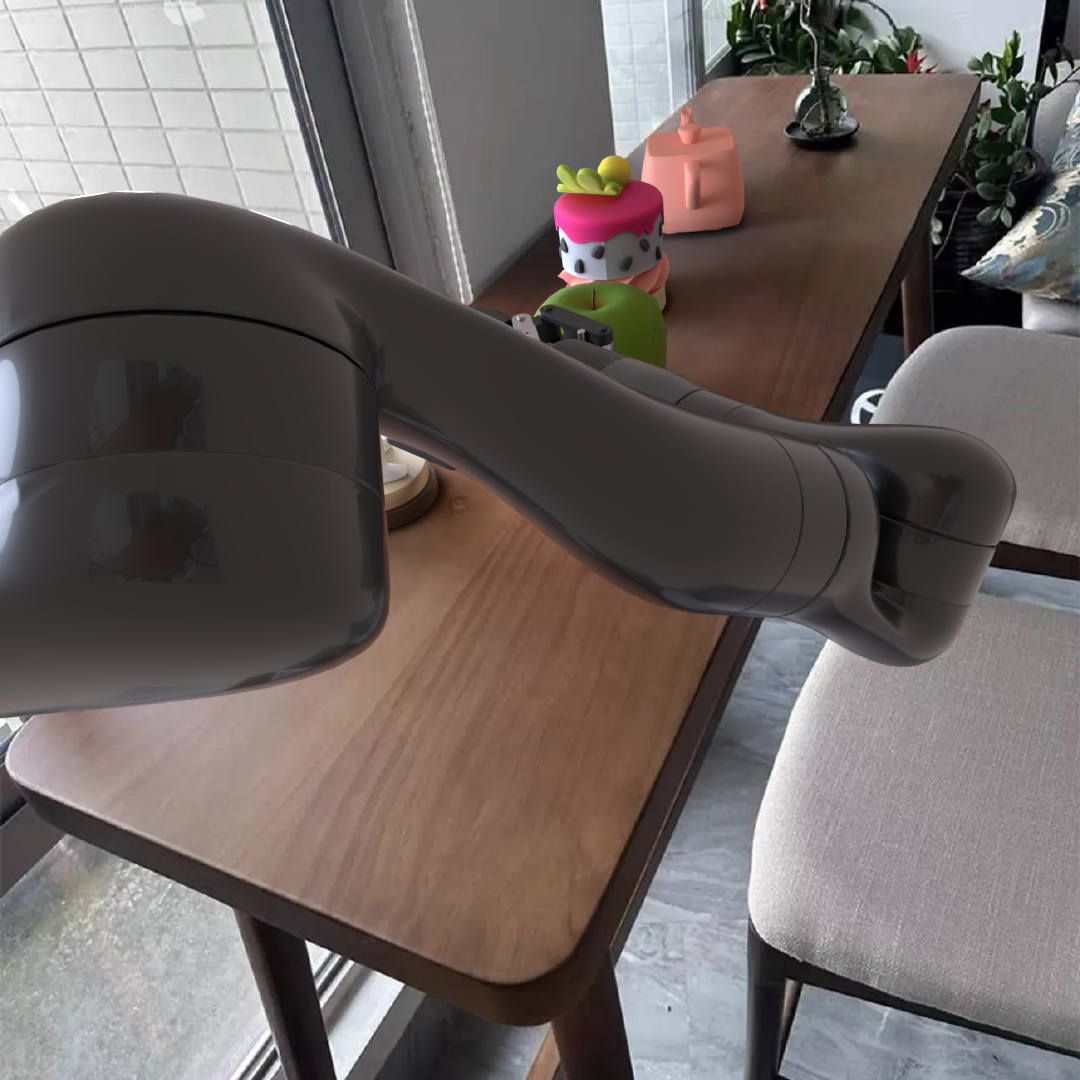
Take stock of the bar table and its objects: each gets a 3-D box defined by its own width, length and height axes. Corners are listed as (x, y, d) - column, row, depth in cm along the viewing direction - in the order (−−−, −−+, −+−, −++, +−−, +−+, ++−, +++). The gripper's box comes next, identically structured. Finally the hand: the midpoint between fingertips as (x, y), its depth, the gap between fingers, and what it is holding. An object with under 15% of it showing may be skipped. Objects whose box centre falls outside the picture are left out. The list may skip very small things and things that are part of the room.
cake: (591, 276, 107) (576, 132, 97) (685, 286, 102) (679, 136, 93) (546, 323, 100) (526, 172, 90) (645, 336, 95) (634, 178, 86)
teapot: (642, 254, 109) (636, 158, 103) (642, 192, 123) (636, 103, 117) (749, 245, 108) (750, 146, 101) (737, 183, 122) (737, 92, 115)
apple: (680, 374, 89) (675, 258, 82) (653, 443, 81) (645, 322, 75) (560, 368, 93) (546, 256, 86) (524, 434, 85) (505, 317, 78)
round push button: (394, 544, 75) (385, 513, 74) (301, 518, 80) (290, 488, 78) (460, 475, 81) (453, 445, 79) (369, 454, 85) (361, 424, 84)
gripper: (697, 309, 55) (493, 249, 65) (513, 432, 48) (315, 344, 57) (700, 425, 60) (509, 353, 69) (533, 552, 52) (347, 452, 62)
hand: (421, 349), depth 63 cm, fingers open, 8 cm apart
